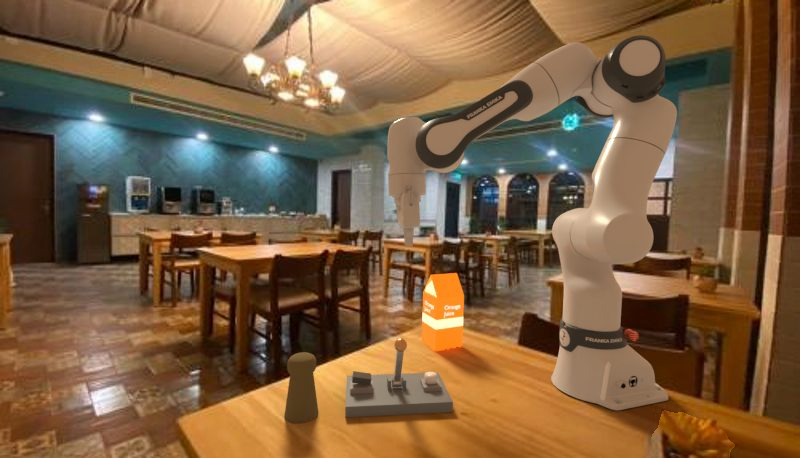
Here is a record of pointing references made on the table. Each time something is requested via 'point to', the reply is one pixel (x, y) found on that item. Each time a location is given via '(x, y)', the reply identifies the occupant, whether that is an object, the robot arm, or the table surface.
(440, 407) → the control panel
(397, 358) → the copper ball joystick
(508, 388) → the table surface
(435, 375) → the push button
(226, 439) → the table surface
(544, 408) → the table surface
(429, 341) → the orange juice
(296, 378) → the brown pawn
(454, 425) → the table surface
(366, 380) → the rocker switch
